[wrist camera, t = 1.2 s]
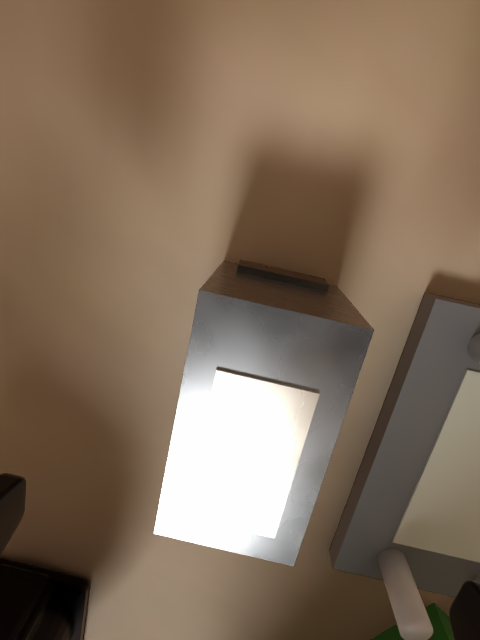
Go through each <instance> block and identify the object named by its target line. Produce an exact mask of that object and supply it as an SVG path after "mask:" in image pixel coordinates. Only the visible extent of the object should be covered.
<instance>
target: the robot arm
mask: <svg viewBox="0 0 480 640" xmlns="http://www.w3.org/2000/svg"><path fill="white" fill-rule="evenodd" d="M25 494H26V480H25V478H23V477H21V476H17V475H13V474H8V473H4V474H1V475H0V555H1V553H2V552H3V550H4V548H5V547H6V545H7V543H8V542H9V540H10V538H11V537H12V535H13V533H14V531H15V530H16V528H17V526H18V525H19V523H20V521H21V519H22V517H23V514H24V510H25ZM88 594H89V583H88V582H87V581H86V580H85V579H82V578H79V577H75V576H70V575H66V574H62V573H57V572H53V571H49V570H45V569H40V568H36V567H32V566H28V565H23V564H19V563H15V562H10V561H6V560H2V559H0V640H83V634H84V626H85V618H86V610H87V602H88ZM450 624H451V628H452V632H453V636H454V640H480V582H476V581H472V580H467V581H465V582H464V583H463V584H462V586H461V588H460V590H459V592H458V594H457V596H456V598H455V600H454V602H453V604H452V605H451V608H450Z"/></svg>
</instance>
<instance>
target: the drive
mask: <svg viewBox="0 0 480 640" xmlns="http://www.w3.org/2000/svg"><path fill="white" fill-rule="evenodd" d="M373 331H374V329H373V328H372V327H371V326H370V325H369V323H368V322H367V321H366V320H365V319H364V317H363V316H362V315H361V314H360V313H359V312H358V310H357V309H356V308H355V307H354V306H353V304H352V303H351V302H350V301H349V300H348V299H347V297H346V296H345V295H344V294H343V293H342V291H341V290H340V289H339V288H338V287H337V286H333V285H329V284H328V283H327V282H326V280H325V279H323V278H318V277H314V276H309V275H305V274H301V273H296V272H292V271H287V270H283V269H279V268H274V267H270V266H265V265H261V264H257V263H252V262H248V261H243V260H240V262H239V264H236V263H231V262H227V261H223V262H222V264H221V265H220V266H219V267H218V268H217V269H216V271H215V272H214V273H213V274H212V275H211V277H210V278H209V279H208V280H207V281H206V282H205V284H204V285H203V286H202V287H201V288H200V290H199V293H198V299H197V304H196V309H195V315H194V320H193V325H192V331H191V336H190V341H189V347H188V352H187V358H186V363H185V368H184V374H183V379H182V384H181V390H180V395H179V400H178V406H177V411H176V416H175V422H174V427H173V432H172V438H171V443H170V448H169V454H168V459H167V464H166V470H165V475H164V480H163V486H162V491H161V497H160V502H159V507H158V513H157V518H156V523H155V529H154V534H158V535H162V536H166V537H170V538H175V539H179V540H183V541H187V542H192V543H196V544H200V545H204V546H209V547H213V548H217V549H221V550H226V551H230V552H234V553H238V554H243V555H247V556H251V557H255V558H260V559H264V560H268V561H272V562H277V563H281V564H285V565H289V566H294V564H295V561H296V558H297V555H298V552H299V549H300V546H301V543H302V540H303V537H304V534H305V531H306V528H307V526H308V523H309V520H310V517H311V514H312V511H313V508H314V505H315V502H316V499H317V496H318V493H319V490H320V487H321V484H322V481H323V478H324V476H325V473H326V470H327V467H328V464H329V461H330V458H331V455H332V452H333V449H334V446H335V443H336V440H337V437H338V434H339V431H340V429H341V426H342V423H343V420H344V417H345V414H346V411H347V408H348V405H349V402H350V399H351V396H352V393H353V390H354V387H355V384H356V381H357V379H358V376H359V373H360V370H361V367H362V364H363V361H364V358H365V355H366V352H367V349H368V346H369V343H370V340H371V337H372V334H373Z"/></svg>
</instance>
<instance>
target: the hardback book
mask: <svg viewBox="0 0 480 640" xmlns="http://www.w3.org/2000/svg"><path fill="white" fill-rule="evenodd" d="M425 609H426V612H427V614H428V617H429V620H430V622H431V625H432V627H433V634H432V636H431V637H430V638H429V639H428V640H454V636H453V632H452V628H451V624H450V617H449V616H448V615H447V614H446V613H444V612H443V611H442V610H441V609H440V608H439V607H438V606H437V605H436V604H434V603H433V604H431V605H430V606H428V607H426V608H425ZM371 640H405V639H403V638H402V637H401V635H400V632H399V629H398V626H397V625H395V626H393V627H392V628H390V629H388V630H387V631H385V632H383V633H381V634H380V635H378V636H376V637H374V638H373V639H371Z"/></svg>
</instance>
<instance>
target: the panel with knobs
mask: <svg viewBox="0 0 480 640" xmlns="http://www.w3.org/2000/svg"><path fill="white" fill-rule="evenodd" d="M330 556H331V562H332V567H333V569H335V570H340V571H344V572H348V573H353V574H357V575H361V576H365V577H370V578H374V579H378V580H383V581H384V583H385V586H386V590H387V593H388V596H389V599H390V603H391V606H392V609H393V613H394V616H395V619H396V622H397V626H398V629H399V632H400V635H401V637H402V638H403V639H405V640H428V639H429V638H430V637H431V636H432V634H433V627H432V625H431V622H430V620H429V617H428V614H427V612H426V609H425V607H424V604H423V601H422V599H421V596H420V594H419V591H418V589H421V590H426V591H430V592H434V593H439V594H443V595H447V596H451V597H456V596H457V594H458V592H459V590H460V588H461V586H462V584H463V583H464V582H465V581H467V580H472V581H476V582H480V305H478V304H474V303H469V302H465V301H460V300H456V299H451V298H447V297H443V296H438V295H434V294H429V293H425V294H424V297H423V299H422V302H421V305H420V307H419V310H418V313H417V315H416V318H415V321H414V324H413V326H412V329H411V332H410V334H409V337H408V340H407V342H406V345H405V348H404V351H403V353H402V356H401V359H400V361H399V364H398V367H397V369H396V372H395V375H394V377H393V380H392V383H391V386H390V388H389V391H388V394H387V396H386V399H385V402H384V404H383V407H382V410H381V412H380V415H379V418H378V421H377V423H376V426H375V429H374V431H373V434H372V437H371V439H370V442H369V445H368V447H367V450H366V453H365V456H364V458H363V461H362V464H361V466H360V469H359V472H358V474H357V477H356V480H355V482H354V485H353V488H352V491H351V493H350V496H349V499H348V501H347V504H346V507H345V509H344V512H343V515H342V517H341V520H340V523H339V526H338V528H337V531H336V534H335V536H334V539H333V542H332V544H331V547H330Z"/></svg>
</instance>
